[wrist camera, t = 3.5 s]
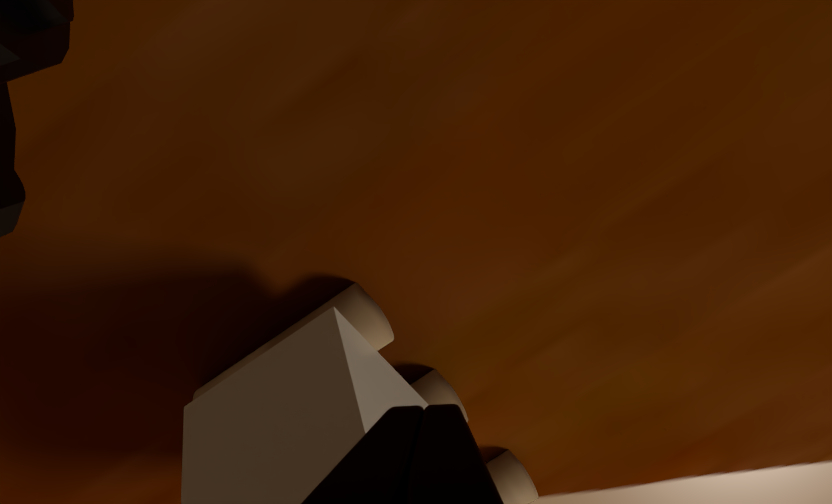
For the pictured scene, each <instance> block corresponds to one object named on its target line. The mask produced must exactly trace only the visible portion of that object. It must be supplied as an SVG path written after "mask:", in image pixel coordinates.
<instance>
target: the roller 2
mask: <svg viewBox="0 0 832 504" xmlns="http://www.w3.org/2000/svg"><path fill="white" fill-rule="evenodd" d="M486 466H487V468H488V470H489V472H490V474H491V476H492V479H493V481H494V483H495V485H496V487H497V490H498V492H499V494H500V496H501V498H502V501H503V503H504V504H529V503H531V502H533V501H535V500H536V499H538V493H537V491H536V488H535V486H534V484H533V482H532V480H531V478H530V476H529V475H528V473H527V471H526V470H525V468H524V466H523V465H522V464H521V463H520V461H519V460H518V459H517V458H516V457H515V456H514V455H513V454H512V453H511V452H510V450H507V451H505V452H504V453H502V454H501V455H499V456H497V457H496V458H494V459H493V460H491V461H489V462H488V463H486Z"/></svg>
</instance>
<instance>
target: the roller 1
mask: <svg viewBox="0 0 832 504" xmlns="http://www.w3.org/2000/svg"><path fill="white" fill-rule="evenodd" d="M333 306H334V307H335V308H336V309H337V310H338V311H339V312H340V314H341V315H342V316H343V317H344V318H345V319H346V320H347V321H348V322H349V323H350V324H351V325H352V326H353V327H354V328H355V329H356V330H357V331H358V332H359V333H360V334H361V335H362V336H363V337H364V338H365V339H366V340H367V341H368V342H369V344H370V345H371V346H372V347H373V348H374V349H375V350H376V351H378V350H380V349H381V348H383V347H384V346H386V345H387V344H389V343H390V342H392V341H393V340H394V335H393V332H392V329H391V327H390V324H389V322H388V320H387V319H386V317H385V315H384V313H383V312H382V310H381V309H380V307H379V306H378V305H377V304H376V303H375V302H374V300H373V299H372V298H371V297H370V296H369V295H368V294H367V293H366V292H365V291H364V289H363V288H362V287H361V286H360V285H359V284H358V283H354V284H353V285H351V286H350V287H348V288H347V289H345V290H344V291H342V292H341V293H339V294H338V295H336V296H335V297H334V298H332V299H331V300H329V301H328V302H326V303H325V304H323V305H322V306H320V307H319V308H317V309H316V310H314V311H313V312H311V313H310V314H308V315H307V316H305V317H304V318H302V319H301V320H300V321H298V322H297V323H295V324H294V325H292V326H291V327H289V328H288V329H286V330H285V331H283V332H282V333H280V334H279V335H277V336H276V337H274V338H273V339H271V340H270V341H268V342H267V343H266V344H264V345H263V346H261V347H260V348H258V349H257V350H255V351H254V352H252V353H251V354H249V355H248V356H246V357H245V358H243V359H242V360H240V361H239V362H237V363H236V364H234V365H233V366H232V367H230V368H229V369H227V370H226V371H224V372H223V373H221V374H220V375H218V376H217V377H215V378H214V379H212V380H211V381H209V382H208V383H206V384H205V385H203V386H202V387H200V388H199V389H197V390H196V391H195V393H194V395H193V400H195V399H196V398H198V397H199V396H201V395H202V394H204V393H205V392H207V391H208V390H210V389H211V388H213V387H214V386H216V385H217V384H219V383H220V382H222V381H223V380H224V379H226V378H227V377H229V376H230V375H232V374H233V373H235V372H236V371H238V370H239V369H241V368H242V367H244V366H245V365H247V364H248V363H250V362H251V361H253V360H254V359H256V358H257V357H259V356H260V355H262V354H263V353H265V352H266V351H268V350H269V349H271V348H272V347H273V346H275V345H276V344H278V343H279V342H281V341H282V340H284V339H285V338H287V337H288V336H290V335H291V334H293V333H294V332H296V331H297V330H299V329H300V328H302V327H303V326H305V325H306V324H308V323H309V322H311V321H312V320H314V319H315V318H317V317H318V316H320V315H321V314H322V313H324V312H325V311H327V310H328V309H330V308H331V307H333Z"/></svg>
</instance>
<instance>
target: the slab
mask: <svg viewBox="0 0 832 504" xmlns="http://www.w3.org/2000/svg"><path fill="white" fill-rule="evenodd" d="M414 405H419V406H421V407H423V409H425V408H426V407H427V406H428V404H427V403H426V401H425V400H424V399H423V398H422V397H421V396H420V395H419V394H418V393H417V392H416V391H415V390H414V389H413V388H412V387H411V386H410V385H409V384H408V383H407V382H406V381H405V380H404V379H403V378H402V377H401V376H400V375H399V374H398V373H397V371H396V370H395V369H394V368H393V367H392V366H391V365H390V364H389V363H388V362H387V361H386V360H385V359H384V358H383V357H382V356H381V355H380V354H379V353H378V352H377V351H376V350H375V349H374V348H373V347H372V346H371V345H370V344H369V342H368V341H367V340H366V339H365V338H364V337H363V336H362V335H361V334H360V333H359V332H358V331H357V330H356V329H355V328H354V327H353V326H352V325H351V324H350V323H349V322H348V321H347V320H346V319H345V318H344V317H343V316H342V315H341V314H340V312H339V311H338V310H337V309H336V308H335V307H334V306H333V307H331V308H330V309H328V310H327V311H325V312H324V313H322V314H321V315H320V316H318V317H317V318H315V319H314V320H312V321H311V322H309V323H308V324H306V325H305V326H303V327H302V328H300V329H299V330H297V331H296V332H294V333H293V334H291V335H290V336H288V337H287V338H285V339H284V340H282V341H281V342H279V343H278V344H276V345H275V346H273V347H272V348H271V349H269V350H268V351H266V352H265V353H263V354H262V355H260V356H259V357H257V358H256V359H254V360H253V361H251V362H250V363H248V364H247V365H245V366H244V367H242V368H241V369H239V370H238V371H236V372H235V373H233V374H232V375H230V376H229V377H227V378H226V379H224V380H223V381H222V382H220V383H219V384H217V385H216V386H214V387H213V388H211V389H210V390H208V391H207V392H205V393H204V394H202V395H201V396H199V397H198V398H196V399H195V400H193V401H192V402H190V403H189V404H187V405H186V406H184V422H183V457H182V492H181V504H301V503H302V502H303V501H304V500H305V499H306V497H307V496H308V495H309V494H310V493H311V492H312V491H313V490H314V489H315V488H316V487H317V486H318V484H319V483H320V482H321V481H322V480H323V479H324V478H325V477H326V476H327V475H328V474H329V473H330V472H331V470H332V469H333V468H334V467H335V466H336V465H337V464H338V463H339V462H340V461H341V460H342V459H343V457H344V456H345V455H346V454H347V453H348V452H349V451H350V450H351V449H352V448H353V447H354V446H355V445H356V443H357V442H358V441H359V440H360V439H361V438H362V437H363V436H364V435H365V434H366V433H367V432H368V430H369V429H370V428H371V427H372V426H373V425H374V424H375V423H376V422H377V421H378V420H379V419H380V418H381V416H382V415H383V414H384V413H385V412H386V411H387V410H388V409H390V408H391V407H394V406H414Z"/></svg>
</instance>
